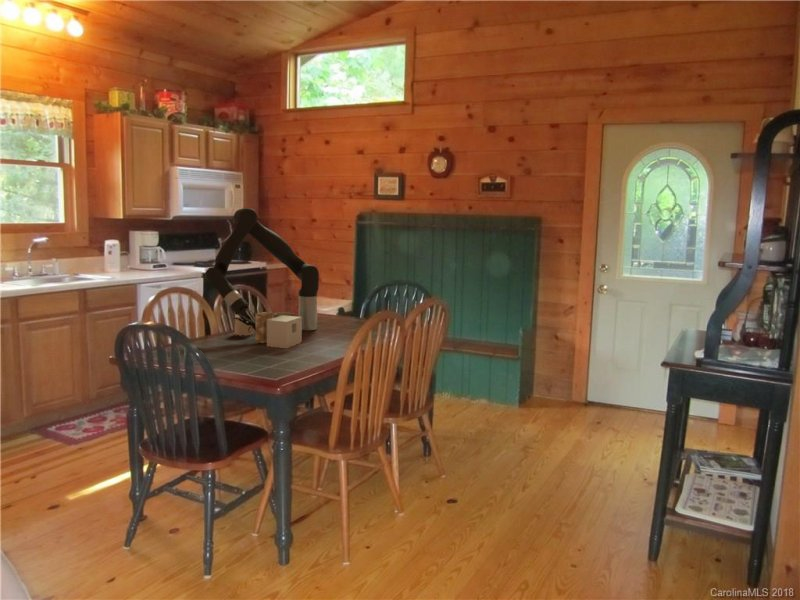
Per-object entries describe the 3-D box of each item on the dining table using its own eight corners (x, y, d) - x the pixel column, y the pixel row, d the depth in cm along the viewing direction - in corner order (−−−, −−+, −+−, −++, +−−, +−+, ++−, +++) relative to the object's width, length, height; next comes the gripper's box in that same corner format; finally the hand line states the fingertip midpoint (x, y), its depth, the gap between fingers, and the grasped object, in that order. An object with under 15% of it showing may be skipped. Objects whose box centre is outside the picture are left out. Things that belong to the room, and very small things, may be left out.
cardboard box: (266, 346, 293) (266, 319, 292) (282, 340, 306) (282, 315, 305) (286, 348, 290) (286, 321, 288) (301, 342, 303) (301, 317, 301)
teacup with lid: (251, 336, 314) (251, 312, 312) (232, 336, 313) (232, 312, 312) (256, 331, 326) (255, 308, 324) (237, 331, 325) (237, 308, 324)
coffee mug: (296, 332, 327) (296, 312, 325) (291, 336, 317) (291, 315, 316) (270, 331, 328) (270, 311, 327) (264, 335, 318) (264, 314, 317)
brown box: (255, 342, 299) (255, 314, 297) (264, 339, 306) (264, 311, 304) (285, 345, 294) (285, 316, 292) (293, 342, 301) (294, 314, 299)
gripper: (232, 298, 297) (256, 327, 294) (248, 295, 309) (271, 323, 307) (223, 309, 299) (246, 338, 297) (239, 305, 312) (262, 333, 309)
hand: (259, 330), depth 302 cm, fingers closed
